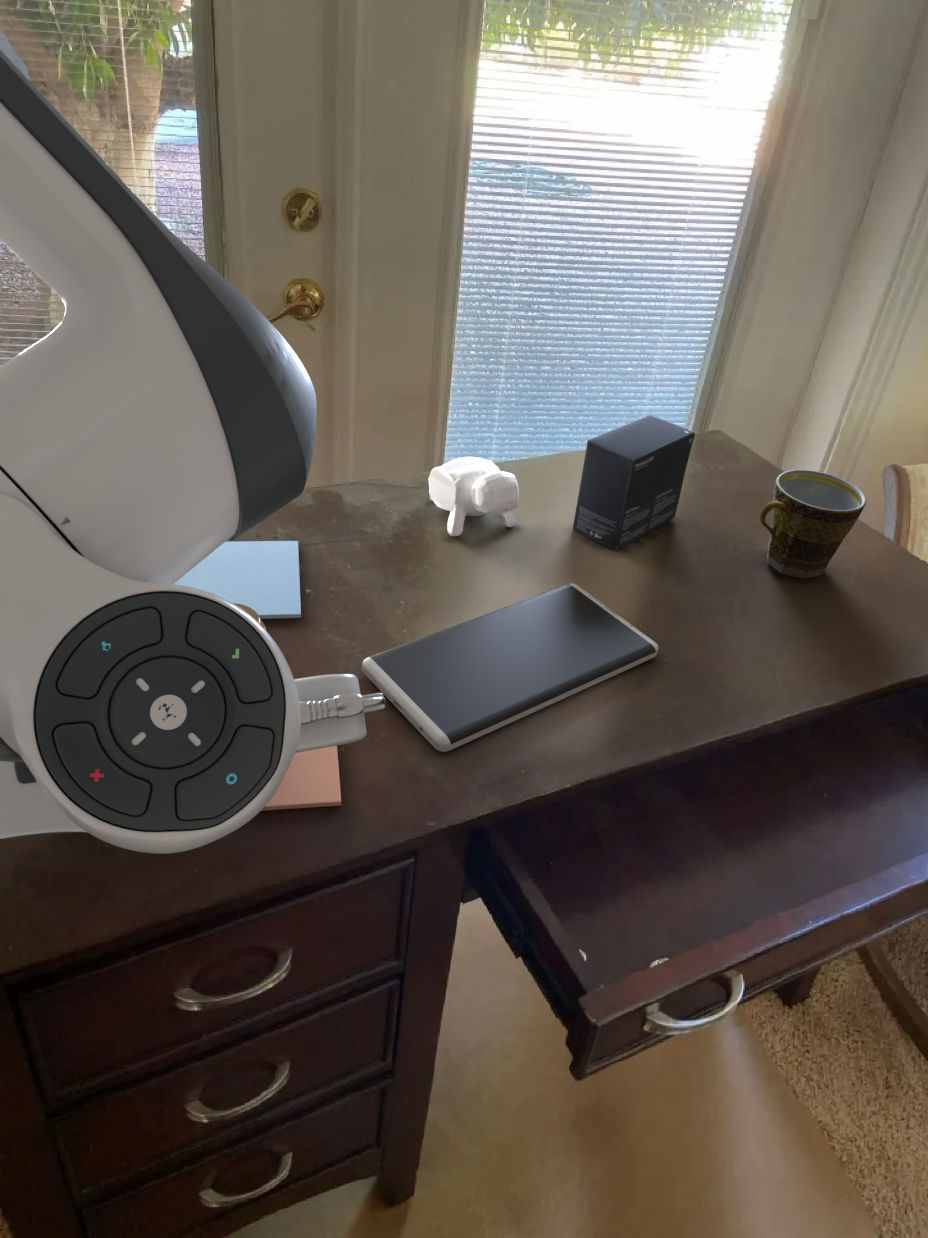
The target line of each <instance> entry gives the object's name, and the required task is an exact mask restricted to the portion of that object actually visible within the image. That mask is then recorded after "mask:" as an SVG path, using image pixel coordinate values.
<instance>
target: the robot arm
mask: <svg viewBox="0 0 928 1238" xmlns="http://www.w3.org/2000/svg"><path fill="white" fill-rule="evenodd" d="M0 241H1V242H2V243H3V244H4V245H5V246H6V247H7V248H8V249H9V250H10V251H11V252H12V253H13V254H14V255H15V256H17V257H18V258H19V259H20V260H21V261H22V262H23V263H24V264H25V265H26V266H27V267H28V268H29V269H30V270H31V271H32V272H33V273H34V274H35V275H36V276H38V278H40V279H41V280H42V282H44V283H45V284H46V285H47V286H48V287H49V288H50V289H51V290H52V291H53V292H54V293H55V294H56V295H57V296H58V297H59V298H60V299H61V301H62V303H63V304H64V307H65V311H64V315H63V316H62V317H63V318H62V319H61V321H60V322H59V324H58V325H57V326H55V328H53V330H52V331H50V332H49V333H48V334H47V335H45V336H43V338H41V339H40V340H38V341H36V342H35V343H33V344H32V345H30V346H29V347H28V348H26V349H23V351H21V352H20V353H19V354H17V355H15V356H14V357H12V358H10V359H9V360H8V361H6V362H5V363H3V364H2V365H0V840H1V841H10V840H16V839H23V838H24V839H25V838H33V837H40V836H41V837H42V836H52V835H68V834H71V835H72V834H77V833H88V834H90V835H91V836H93V837H95V838H96V839H99V840H100V841H102V842H105V843H107V844H110V845H113V846H115V847H118V848H120V849H121V848H122V849H126V850H128V851H133V852H138V853H145V854H146V853H147V854H157V855H159V854H161V855H164V854H165V855H166V854H167V855H169V854H176V853H183V852H187V851H191V850H194V849H199V848H201V847H203V846H206V845H208V844H211V843H214V842H215V841H218V840H220V839H222V838H224V837H226V836H228V835H229V834H231V833H233V832H235V831H238V829H240V828H241V827H243V826H245V825H246V824H247V823H249V822H250V821H251V820H253V819H254V818H255V817H256V816H257V815H258V814H259V813H261V812H262V811H261V810H262V809H263V808H264V807H265V805H266V804H267V803H268V802H269V801H270V800H271V798H272V797H273V795H274V794H275V792H276V791H277V789H278V788H279V786H280V785H281V783H282V781H283V779H284V777H285V775H286V773H287V771H288V769H289V767H290V764H291V762H292V760H293V757H294V755H295V753H299V752H304V751H310V750H315V749H321V748H326V747H332V746H337V747H338V746H344V745H348V744H352V743H356V742H358V741H361V740H363V739H364V738H366V736H367V734H368V733H367V732H368V731H367V725H366V718H365V714H367V713H372V712H377V711H381V710H384V709H385V708H386V705H385V704H386V702H387V700H386V699H387V698H386V697H384V694H383V693H382V692H375V693H369V694H363V695H362V694H361V687H360V682H359V678H358V677H357V675H355V674H354V673H331V674H330V673H329V674H319V675H314V676H313V675H312V676H308V677H307V676H306V677H300V678H294V675H293V673H292V670H291V667H290V665H289V663H288V661H287V660H286V656H285V655H284V654H283V652H282V650H281V649H280V647H279V645H278V643H276V641H275V640H274V638H273V637H272V636H271V635H270V634H269V632H267V629H266V630H265V629H264V628H263V627H262V626H261V625H260V624H259V623H258V622H257V621H256V620H255V619H254V618H253V617H252V616H251V615H249V614H248V613H247V612H245V611H244V610H243V609H241V608H240V607H238V606H237V605H235V604H233V603H232V602H230V601H228V600H226V599H224V598H222V597H220V596H218V595H216V594H213V593H210V592H207V591H205V590H201V589H197V588H193V587H189V586H182V585H175V584H174V583H175V582H177V581H178V580H179V579H180V578H182V577H183V576H184V575H185V574H186V573H188V572H189V571H190V570H191V569H193V568H194V567H195V566H196V565H198V564H199V563H200V562H201V561H202V560H204V559H205V558H206V557H207V556H209V555H210V554H211V553H212V552H213V551H215V550H216V549H217V548H218V547H220V546H221V545H222V544H223V543H225V542H233V541H235V540H236V539H237V538H238V537H240V536H241V535H243V534H245V533H246V532H248V531H250V529H252V528H254V527H256V525H257V526H258V524H260V523H261V522H263V521H264V520H265V519H267V518H269V517H270V516H271V515H273V514H274V513H276V512H277V511H279V510H280V509H282V508H283V507H285V506H286V505H288V504H289V503H291V502H293V501H294V500H296V499H297V498H298V497H299V496H301V495H302V493H303V492H304V490H305V487H306V484H307V480H308V477H309V474H310V469H311V465H312V461H313V460H312V459H313V455H314V449H315V441H316V435H317V434H316V432H317V415H318V414H317V413H318V410H317V409H318V406H317V394H316V390H315V386H314V384H313V381H312V379H311V377H310V375H309V373H308V371H307V369H306V367H305V366H304V364H303V362H302V361H301V359H300V358H299V356H298V354H297V353H296V352H295V351H294V349H293V347H292V346H291V344H289V342H287V340H286V339H285V337H284V336H283V335H282V334H281V333H280V332H279V330H278V329H277V328H276V327H275V325H273V324H272V322H271V321H270V320H269V319H268V318H267V317H266V316H265V315H264V314H263V313H262V312H261V311H260V310H259V309H258V308H257V307H256V306H255V305H254V304H253V303H252V302H251V301H250V300H249V299H248V298H247V297H246V296H245V295H244V294H242V293H241V292H240V291H239V290H238V289H237V288H236V287H235V286H234V285H232V283H230V282H229V281H228V280H227V279H226V278H225V277H223V276H222V275H221V274H220V273H219V272H218V271H217V270H216V269H214V268H213V267H212V266H211V265H209V263H207V261H206V260H204V259H203V258H202V257H201V256H200V255H198V254H197V253H196V252H195V251H194V250H193V249H192V248H191V247H189V246H188V245H187V244H186V243H185V242H184V241H182V240H181V239H180V238H179V237H178V236H177V235H176V234H175V233H174V232H173V231H172V230H171V229H170V228H169V227H168V226H167V225H166V224H165V223H164V222H163V221H162V220H161V219H160V218H159V217H158V216H157V215H156V213H154V212H153V211H152V210H151V209H150V207H148V205H146V203H145V202H144V201H143V200H142V199H141V198H140V197H139V196H138V195H137V194H136V193H135V192H134V191H133V190H132V189H131V188H130V187H129V186H128V185H127V184H126V182H125V181H124V180H123V179H122V178H121V177H120V176H119V175H118V174H117V173H116V172H115V171H114V169H113V168H112V167H111V165H109V164H108V163H107V162H106V161H105V160H104V159H103V158H102V157H101V156H100V155H99V153H98V152H97V151H96V150H95V148H93V147H92V146H91V145H90V144H89V142H87V140H86V139H85V138H83V136H82V135H81V134H80V133H79V132H78V130H77V129H75V128H74V127H73V126H72V124H71V123H70V122H69V121H68V120H67V118H65V117H64V116H63V115H62V114H61V113H60V112H59V110H57V108H56V107H55V106H54V105H53V104H52V103H51V102H50V101H49V100H48V98H46V96H44V94H43V93H42V92H41V91H40V90H39V89H38V88H37V87H36V86H35V85H34V83H32V81H30V80H29V78H28V77H27V76H26V75H25V74H24V73H23V71H21V69H20V68H18V67H17V65H16V64H15V63H14V62H13V61H12V60H11V59H10V58H9V57H8V56H7V55H6V53H5V52H4V51H2V49H1V48H0Z"/></svg>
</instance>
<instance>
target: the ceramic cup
mask: <svg viewBox="0 0 928 1238" xmlns="http://www.w3.org/2000/svg"><path fill="white" fill-rule="evenodd" d="M774 483H775V484H774V488H773V496H772V497H773V498H772V501H769V502H768V503H767V504H766V505H765V506H764V508H763V509H762V511H761V513H760V516H759V520H760V523H761V525H762V526H763V527H764V528H766V530H768V532H769V534H770V535H769V541H768V548H767V556H766V563H767V564H768V565H769V566H771V567H772V568H773V569H775V570H776V571H777V572H778V573H780V574H782V575H786V576H791V577H794V578H799V579H803V580H804V579H810V578H813V577H818V576H820V575H822V574H823V573H824V572H825V570H826V568H827V567H828V565H829V563H830V562H831V561H832V558H833V557H834V556H835V554H836V553H837V551H838V549H839V548H840V546H841V544H842V543H843V541H844V539H845V538H846V536H848V534H849V533H850V531H851V530H852V528H853V527H854V525H855V524H856V522H857V521H858V519H859V517H860V516H861V514H862V512H863V510H864V509H865V507H866V505H867V498H866V495H865V493H863V491H862V490H860V488H858V487H857V486H856V485H855V484H853V483H851V482H850V481H847V480H845V479H844V478H841V477H838V476H836V475H832V474H829V473H827V472H826V473H825V472H821V471H816V470H810V469H809V470H808V469H794V470H787V471H784V472H782V473H779V475H778V476H777V477H776V479H775V482H774ZM771 511H772V514H771V515H772V516H771V517H772V520H771V525H769V524H768V523H767V522H766V517H767V515H768V514H769V512H771Z"/></svg>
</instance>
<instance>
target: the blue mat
mask: <svg viewBox="0 0 928 1238" xmlns="http://www.w3.org/2000/svg"><path fill="white" fill-rule="evenodd" d="M300 577H301V576H300V556H299V540H259V541H257V540H255V541H253V540H252V541H251V540H250V541H226V542H225V543H223V544H222V545H221V546H220V547H218V548H217V549H216V550H215V551H213V552H212V553H211V554H210V555H209V556H207V557H206V558H205V559H204V560H202V561H201V562H200V563H199V564H198V565H196V566H195V567H194V568H193V569H191V570H190V571H189V572H188V573H186V574H185V575H184V576H183V577H182V578H180V579H179V580H178V581H177V582H175V583H174V584H175V585H182V586H189V587H193V588H197V589H201V590H205V591H207V592H210V593H213V594H216V595H218V596H220V597H222V598H224V599H226V600H228V601H230V602H232V603H237V604H242V605H245V606H248V607H250V608H252V609H253V610H254V611H256V613H257V614H258V615H259V618H260V620H269V619H270V620H271V619H301V618H302V607H301V605H302V603H301V601H302V600H301V582H300V580H301V578H300Z"/></svg>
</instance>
